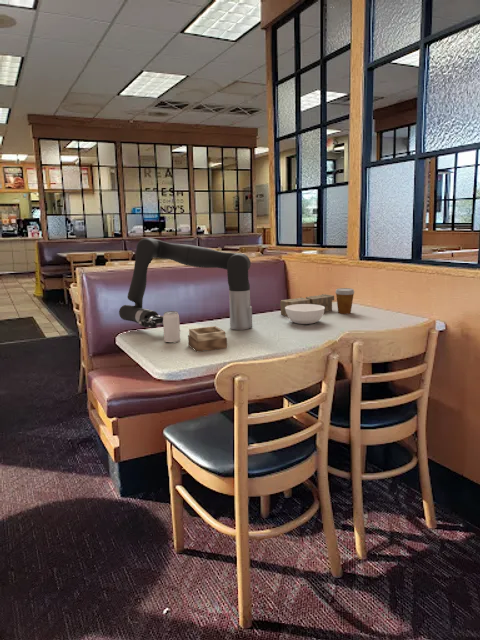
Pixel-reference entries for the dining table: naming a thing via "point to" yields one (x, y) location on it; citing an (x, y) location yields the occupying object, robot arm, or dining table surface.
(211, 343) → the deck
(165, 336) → the can
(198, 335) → the square wooden tray
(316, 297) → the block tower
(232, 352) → the dining table surface
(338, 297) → the disposable coffee cup
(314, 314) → the bowl
